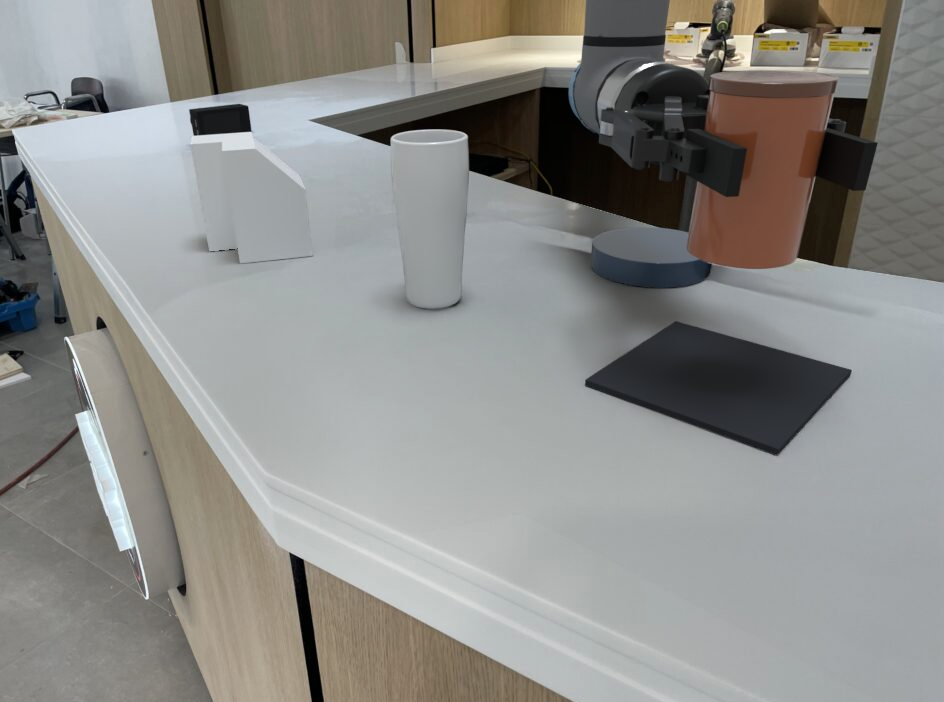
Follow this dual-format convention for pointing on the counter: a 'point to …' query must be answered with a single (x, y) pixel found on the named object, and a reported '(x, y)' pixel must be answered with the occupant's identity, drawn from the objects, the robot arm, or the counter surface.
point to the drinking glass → (431, 212)
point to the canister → (762, 166)
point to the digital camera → (220, 119)
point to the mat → (723, 384)
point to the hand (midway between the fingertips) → (801, 169)
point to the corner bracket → (250, 199)
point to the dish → (647, 258)
